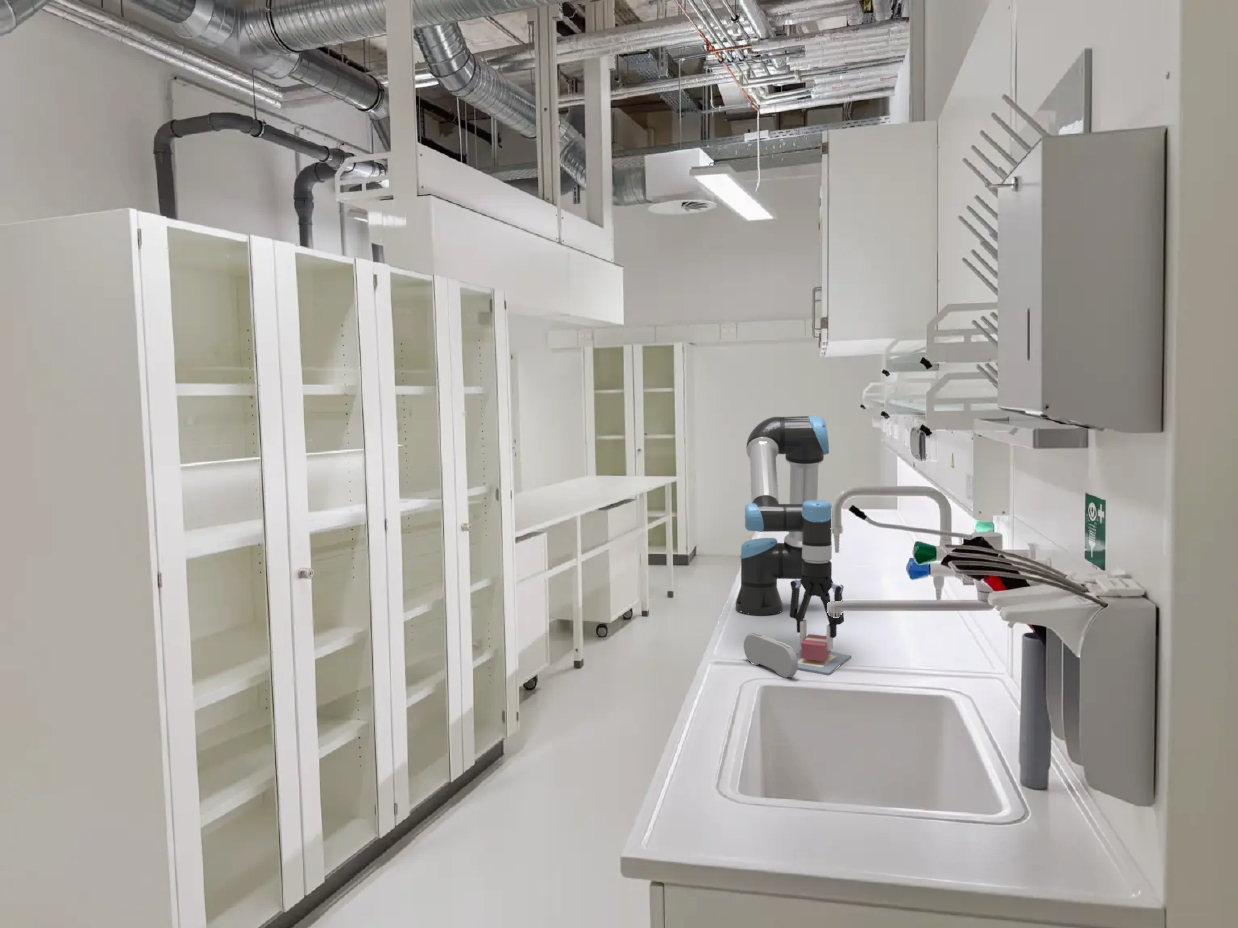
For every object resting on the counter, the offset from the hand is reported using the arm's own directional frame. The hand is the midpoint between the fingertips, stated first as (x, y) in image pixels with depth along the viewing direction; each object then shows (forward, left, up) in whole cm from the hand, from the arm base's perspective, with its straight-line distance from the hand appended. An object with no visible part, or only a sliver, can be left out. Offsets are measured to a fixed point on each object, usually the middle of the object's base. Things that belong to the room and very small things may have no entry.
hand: (816, 647), depth 217 cm
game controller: (+12, -8, -4) cm, 15 cm away
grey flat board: (0, 0, -4) cm, 4 cm away
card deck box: (0, 0, -2) cm, 2 cm away
